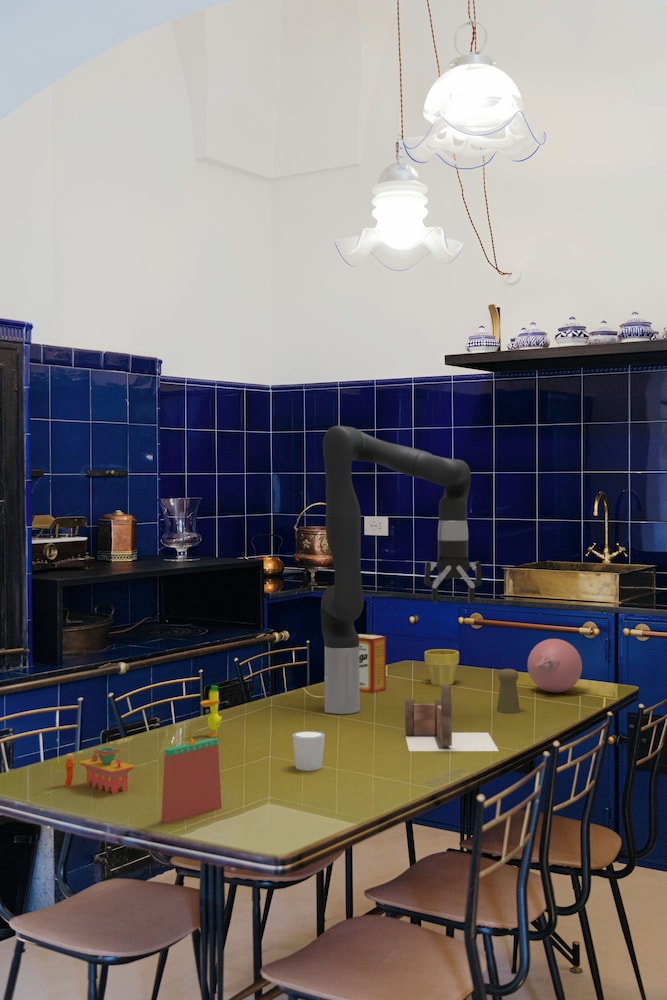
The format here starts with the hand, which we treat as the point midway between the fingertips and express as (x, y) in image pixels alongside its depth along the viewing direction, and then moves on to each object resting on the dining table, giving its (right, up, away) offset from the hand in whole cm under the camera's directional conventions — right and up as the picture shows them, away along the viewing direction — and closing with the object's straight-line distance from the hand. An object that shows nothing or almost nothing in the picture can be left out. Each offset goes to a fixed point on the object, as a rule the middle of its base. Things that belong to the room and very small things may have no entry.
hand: (453, 603), depth 269 cm
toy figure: (-59, -31, -14) cm, 68 cm away
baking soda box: (-21, -30, +44) cm, 57 cm away
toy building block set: (-68, -32, -64) cm, 98 cm away
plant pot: (+3, -30, +53) cm, 61 cm away
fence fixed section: (-9, -30, -16) cm, 35 cm away
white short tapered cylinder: (-35, -31, -42) cm, 63 cm away
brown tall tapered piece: (+16, -30, +14) cm, 37 cm away
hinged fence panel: (-5, -30, -23) cm, 38 cm away
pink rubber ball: (+32, -30, +38) cm, 58 cm away
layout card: (-3, -30, -22) cm, 37 cm away
